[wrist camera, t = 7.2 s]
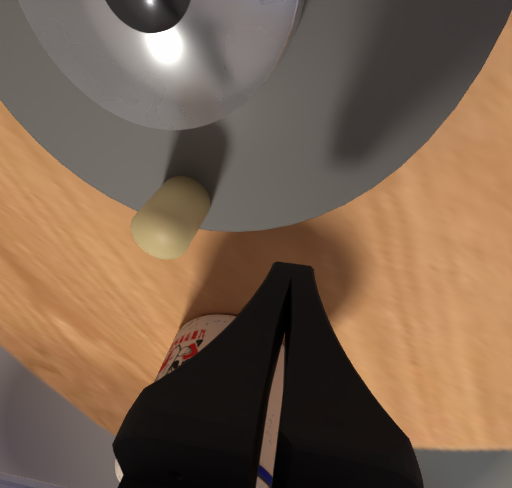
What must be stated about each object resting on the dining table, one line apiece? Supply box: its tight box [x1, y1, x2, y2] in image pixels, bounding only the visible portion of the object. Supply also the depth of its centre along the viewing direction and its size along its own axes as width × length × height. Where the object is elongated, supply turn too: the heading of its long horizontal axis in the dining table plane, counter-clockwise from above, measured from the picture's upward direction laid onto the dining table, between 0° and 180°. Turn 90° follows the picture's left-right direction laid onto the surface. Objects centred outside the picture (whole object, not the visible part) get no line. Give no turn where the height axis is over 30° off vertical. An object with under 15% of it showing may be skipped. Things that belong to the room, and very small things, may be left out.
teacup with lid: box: [115, 314, 284, 488], centre depth 22 cm, size 12×9×12 cm
